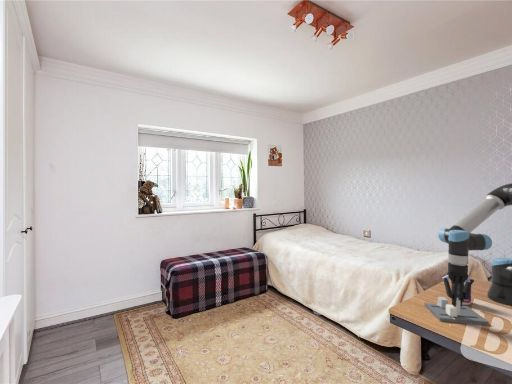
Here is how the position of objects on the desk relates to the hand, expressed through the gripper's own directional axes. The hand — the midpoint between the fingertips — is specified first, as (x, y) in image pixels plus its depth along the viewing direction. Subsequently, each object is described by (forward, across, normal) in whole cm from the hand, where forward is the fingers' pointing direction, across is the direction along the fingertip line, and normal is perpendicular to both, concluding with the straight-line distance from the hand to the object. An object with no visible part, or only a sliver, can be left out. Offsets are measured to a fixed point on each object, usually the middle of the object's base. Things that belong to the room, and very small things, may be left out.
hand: (456, 312), depth 126 cm
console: (+3, -1, -5) cm, 6 cm away
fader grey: (+1, +2, -9) cm, 9 cm away
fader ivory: (+1, +2, 0) cm, 2 cm away
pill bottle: (+3, -13, -20) cm, 24 cm away
